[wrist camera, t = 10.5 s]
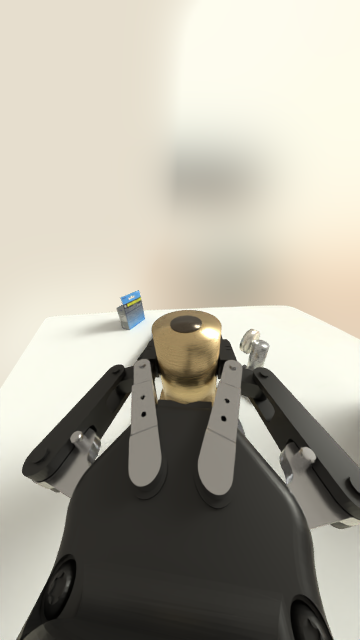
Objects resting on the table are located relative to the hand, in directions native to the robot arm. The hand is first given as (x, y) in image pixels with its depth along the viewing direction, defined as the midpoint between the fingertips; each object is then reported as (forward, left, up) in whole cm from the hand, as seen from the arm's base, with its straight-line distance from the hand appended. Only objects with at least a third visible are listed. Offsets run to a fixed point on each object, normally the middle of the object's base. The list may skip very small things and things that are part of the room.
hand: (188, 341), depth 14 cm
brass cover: (+2, +2, -6) cm, 7 cm away
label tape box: (-3, -39, -16) cm, 43 cm away
